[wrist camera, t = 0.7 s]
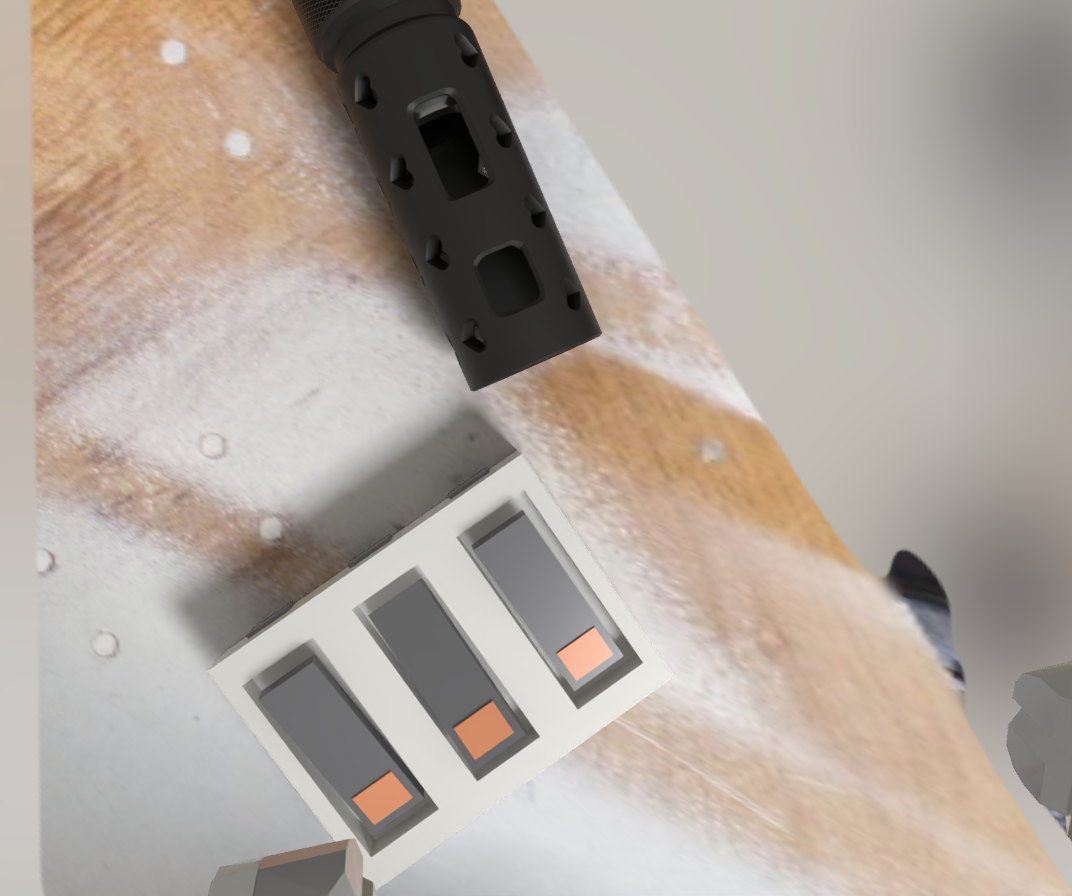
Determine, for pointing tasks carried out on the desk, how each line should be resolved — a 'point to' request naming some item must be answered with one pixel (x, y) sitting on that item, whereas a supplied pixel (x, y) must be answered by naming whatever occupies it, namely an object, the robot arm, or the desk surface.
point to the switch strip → (393, 699)
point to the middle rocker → (448, 674)
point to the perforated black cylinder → (454, 180)
